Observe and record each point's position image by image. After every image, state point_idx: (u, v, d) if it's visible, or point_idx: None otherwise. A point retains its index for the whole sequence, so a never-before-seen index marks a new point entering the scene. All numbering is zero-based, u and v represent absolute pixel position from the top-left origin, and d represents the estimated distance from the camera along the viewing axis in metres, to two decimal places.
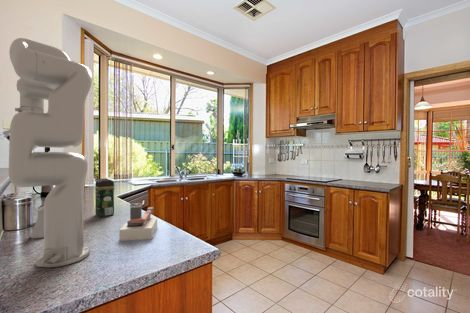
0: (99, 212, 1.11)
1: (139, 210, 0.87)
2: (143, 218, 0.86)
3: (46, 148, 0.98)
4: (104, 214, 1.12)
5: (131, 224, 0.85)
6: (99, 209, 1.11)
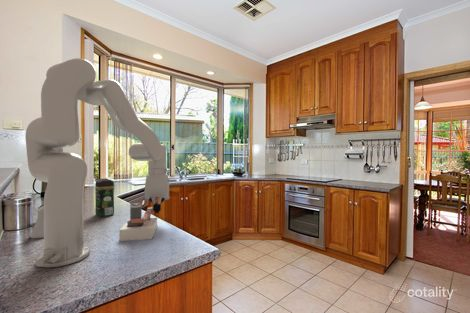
0: (99, 212, 1.11)
1: (139, 210, 0.87)
2: (144, 218, 0.86)
3: None
4: (104, 214, 1.12)
5: (131, 224, 0.85)
6: (99, 209, 1.11)
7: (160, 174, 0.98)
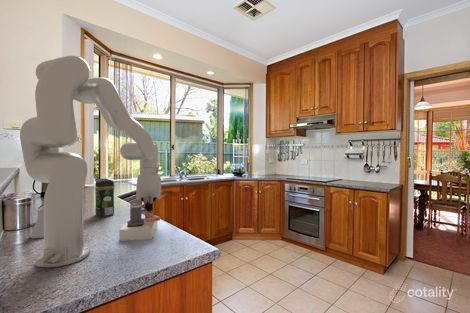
0: (99, 212, 1.11)
1: (139, 210, 0.87)
2: (156, 217, 0.88)
3: None
4: (104, 214, 1.12)
5: (131, 224, 0.85)
6: (99, 209, 1.11)
7: (152, 173, 0.98)
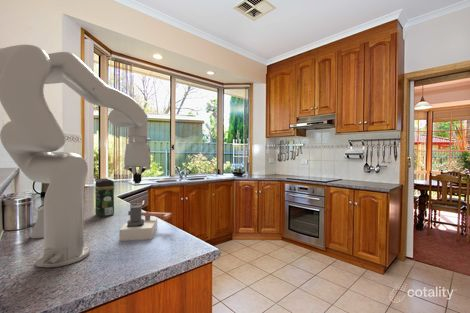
0: (99, 212, 1.11)
1: (139, 210, 0.87)
2: (168, 213, 0.93)
3: None
4: (104, 214, 1.12)
5: (131, 224, 0.85)
6: (99, 209, 1.11)
7: (140, 142, 0.95)
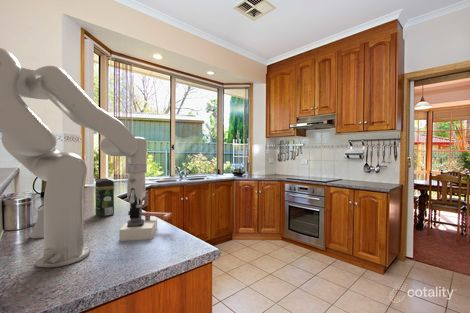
0: (99, 212, 1.11)
1: (139, 210, 0.87)
2: (168, 213, 0.93)
3: None
4: (104, 214, 1.12)
5: (131, 224, 0.85)
6: (99, 209, 1.11)
7: (125, 172, 0.85)
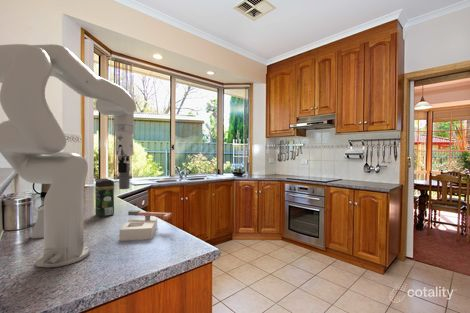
0: (99, 212, 1.11)
1: (127, 166, 0.97)
2: (168, 213, 0.93)
3: (129, 166, 1.00)
4: (104, 214, 1.12)
5: (120, 177, 0.95)
6: (99, 209, 1.11)
7: (114, 131, 0.95)
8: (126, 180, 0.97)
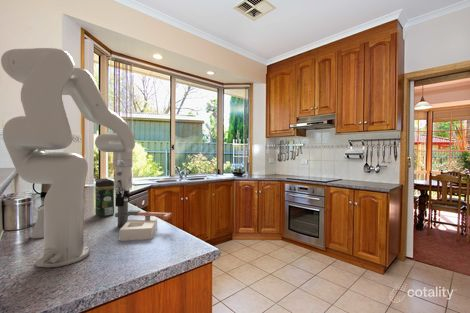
0: (99, 212, 1.11)
1: (125, 203, 0.98)
2: (168, 213, 0.93)
3: (128, 197, 1.03)
4: (104, 214, 1.12)
5: (118, 216, 0.96)
6: (99, 209, 1.11)
7: (113, 166, 0.96)
8: (124, 218, 0.98)
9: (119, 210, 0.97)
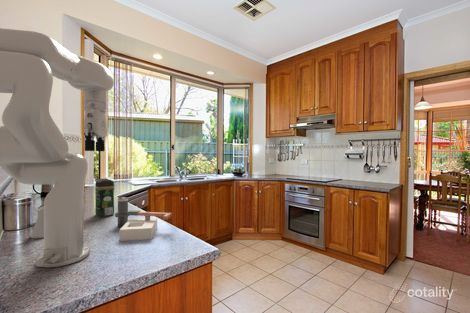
0: (99, 212, 1.11)
1: (125, 203, 0.98)
2: (168, 213, 0.93)
3: (103, 146, 0.94)
4: (104, 214, 1.12)
5: (118, 216, 0.96)
6: (99, 209, 1.11)
7: (84, 108, 0.87)
8: (124, 218, 0.98)
9: (119, 210, 0.97)
